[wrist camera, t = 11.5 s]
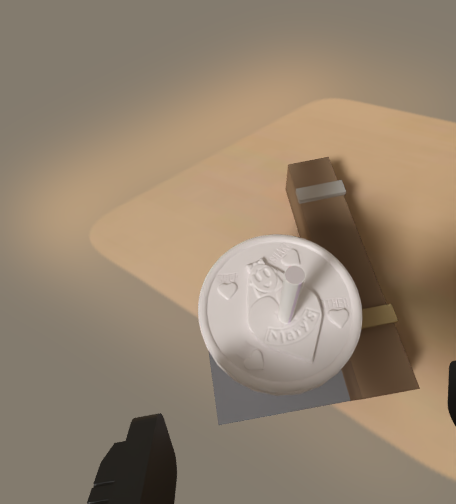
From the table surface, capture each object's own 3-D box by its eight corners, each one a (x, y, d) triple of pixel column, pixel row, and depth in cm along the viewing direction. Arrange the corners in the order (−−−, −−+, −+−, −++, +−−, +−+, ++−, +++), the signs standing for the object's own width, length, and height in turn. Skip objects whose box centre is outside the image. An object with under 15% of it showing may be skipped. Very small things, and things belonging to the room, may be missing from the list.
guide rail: (323, 182, 27) (330, 152, 24) (400, 391, 20) (425, 387, 17) (284, 189, 27) (287, 161, 24) (347, 401, 20) (363, 399, 17)
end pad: (312, 279, 24) (313, 277, 23) (349, 400, 20) (350, 400, 20) (202, 300, 24) (201, 298, 23) (219, 424, 20) (218, 425, 20)
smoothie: (251, 421, 20) (229, 440, 7) (207, 326, 22) (135, 218, 10) (343, 371, 20) (470, 307, 8) (290, 284, 23) (320, 134, 11)
